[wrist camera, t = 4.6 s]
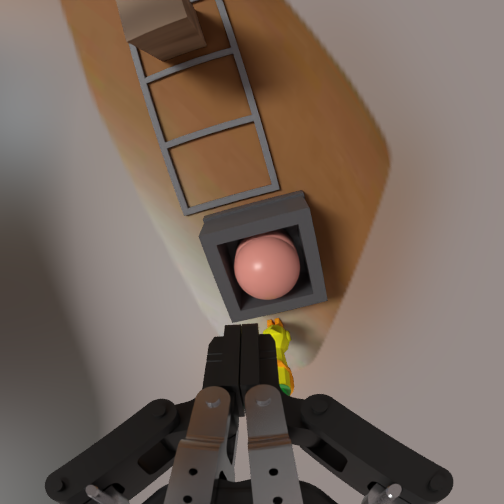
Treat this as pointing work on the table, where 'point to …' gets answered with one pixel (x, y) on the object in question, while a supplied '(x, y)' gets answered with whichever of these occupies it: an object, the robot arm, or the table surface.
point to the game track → (253, 117)
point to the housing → (253, 223)
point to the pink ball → (267, 264)
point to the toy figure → (281, 354)
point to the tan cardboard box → (161, 26)
